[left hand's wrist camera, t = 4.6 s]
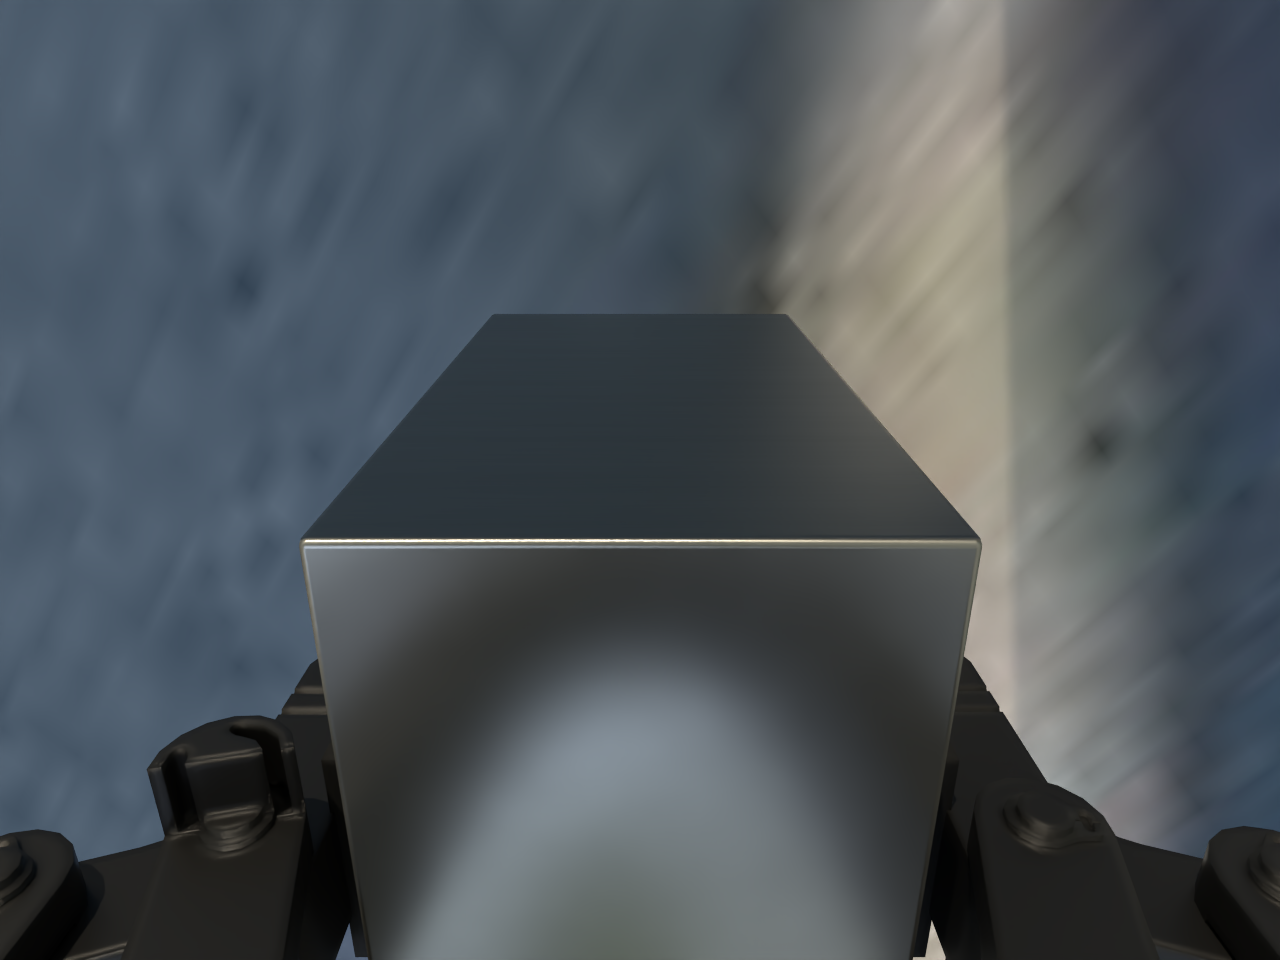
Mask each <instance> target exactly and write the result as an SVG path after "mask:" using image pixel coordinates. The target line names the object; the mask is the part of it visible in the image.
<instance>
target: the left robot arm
mask: <svg viewBox="0 0 1280 960" xmlns="http://www.w3.org/2000/svg"><path fill="white" fill-rule="evenodd" d="M147 772H148V776H149V779H150V783H151V787H152V790H153V794H154V798H155V801H156V805H157V809H158V812H159V816H160V820H161V823H162V827H163V831H164V834H165V837H164V840H163V841H159V842H156V843H153V844H150V845H147V846H143V847H140V848H136V849H132V850H127V851H123V852H119V853H115V854H110V855H106V856H102V857H98V858H93V859H89V860H85V861H81V862H78V859H77V856H76V853H75V850H74V847H73V844H72V843H71V842H70V841H68V840H67V839H66V838H65V837H64V836H63V835H62V834H60V833H56V832H50V831H45V830H39V829H37V830H30V831H22V832H15V833H9V834H6V835H3V836H0V960H335V959H336V957H337V954H338V951H339V949H340V946H341V943H342V941H343V938H344V935H345V933H346V930H347V927H348V925H349V923H350V929H351V935H352V940H353V946H354V952H355V957H368V954H367V948H366V942H365V936H364V930H363V924H362V919H361V913H360V907H359V901H358V895H357V889H356V883H355V877H354V871H353V865H352V859H351V853H350V847H349V841H348V835H347V829H346V823H345V817H344V811H343V805H342V799H341V793H340V787H339V781H338V775H337V769H336V763H335V757H334V751H333V745H332V739H331V733H330V727H329V721H328V715H327V709H326V703H325V697H324V691H323V685H322V679H321V673H320V667H319V662H318V659H317V660H315V661H314V662H313V663H311V664H310V666H309V667H308V669H307V670H306V672H305V674H304V675H303V677H302V678H301V680H300V681H299V683H298V685H297V686H296V688H295V693H294V694H291V696H290V697H289V699H288V700H287V702H286V704H285V705H284V707H283V708H282V714H281V715H278V716H277V718H276V719H271V718H267V717H263V716H234V717H230V718H226V719H222V720H218V721H214V722H209V723H206V724H204V725H202V726H200V727H198V728H195V729H193V730H191V731H189V732H187V733H185V734H182V735H181V736H179V737H178V738H177V739H175V740H174V741H173V742H171V743H170V744H169V745H167V746H166V747H165V748H163V749H162V750H161V751H160V752H159V753H158V754H157V756H156V757H155V759H154V760H153V761H152V763H151V764H150V766H149V767H148V768H147ZM931 921H932V922H933V924H934V927H935V930H936V932H937V935H938V938H939V940H940V943H941V946H942V948H943V951H944V954H945V956H946V959H945V960H1280V832H1277V831H1274V830H1269V829H1262V828H1254V827H1247V826H1242V827H1236V828H1230V829H1224V830H1221V831H1220V832H1219V833H1218V834H1216V835H1215V836H1214V837H1213V838H1212V839H1211V840H1210V841H1209V843H1208V846H1207V849H1206V852H1205V855H1204V858H1203V859H1202V858H1197V857H1193V856H1189V855H1185V854H1180V853H1176V852H1172V851H1167V850H1163V849H1159V848H1155V847H1150V846H1146V845H1142V844H1139V843H1135V842H1132V841H1129V840H1126V839H1122V838H1119V837H1117V836H1115V834H1114V832H1113V831H1112V829H1111V827H1110V826H1109V824H1108V823H1107V821H1106V819H1105V818H1104V816H1103V815H1102V814H1101V813H1099V812H1098V811H1097V810H1096V809H1095V808H1093V807H1092V806H1091V805H1090V804H1089V803H1088V802H1086V801H1085V800H1084V799H1083V798H1081V797H1079V796H1077V795H1075V794H1073V793H1071V792H1069V791H1067V790H1065V789H1064V788H1062V787H1060V786H1057V785H1054V784H1050V783H1047V781H1046V779H1045V778H1044V776H1043V775H1042V773H1041V772H1040V770H1039V768H1038V767H1037V765H1036V764H1035V762H1034V761H1033V759H1032V757H1031V756H1030V754H1029V753H1028V751H1027V750H1026V748H1025V746H1024V745H1023V743H1022V742H1021V740H1020V739H1019V737H1018V735H1017V734H1016V732H1015V731H1014V729H1013V727H1012V726H1011V724H1010V723H1009V721H1008V720H1007V718H1006V716H1005V715H1004V713H1003V712H1000V711H999V705H998V704H997V702H996V701H995V699H994V698H993V696H992V694H991V693H990V691H987V690H986V685H985V683H984V682H983V680H982V679H981V677H980V676H979V674H978V672H977V671H976V669H975V668H974V666H973V665H972V663H971V662H970V661H969V660H968V659H966V658H965V657H963V663H962V669H961V675H960V681H959V687H958V692H957V698H956V704H955V710H954V716H953V722H952V728H951V734H950V740H949V746H948V752H947V758H946V764H945V770H944V776H943V782H942V788H941V794H940V800H939V806H938V811H937V817H936V823H935V829H934V835H933V841H932V847H931V853H930V859H929V865H928V871H927V877H926V883H925V889H924V895H923V901H922V907H921V913H920V919H919V925H918V931H917V936H916V942H915V948H914V954H913V957H925V955H926V949H927V943H928V938H929V932H930V926H931Z"/></svg>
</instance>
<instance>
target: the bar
mask: <svg viewBox="0 0 1280 960" xmlns="http://www.w3.org/2000/svg"><path fill="white" fill-rule="evenodd" d="M299 548H300V554H301V560H302V566H303V572H304V578H305V584H306V590H307V596H308V602H309V608H310V614H311V620H312V626H313V632H314V638H315V644H316V650H317V656H318V662H319V667H320V673H321V679H322V685H323V691H324V697H325V703H326V709H327V715H328V721H329V727H330V733H331V739H332V745H333V751H334V757H335V763H336V769H337V775H338V781H339V787H340V793H341V799H342V805H343V811H344V817H345V823H346V829H347V835H348V841H349V847H350V853H351V859H352V865H353V871H354V877H355V883H356V889H357V895H358V901H359V907H360V913H361V919H362V924H363V930H364V936H365V942H366V948H367V954H368V960H913V954H914V948H915V942H916V936H917V931H918V925H919V919H920V913H921V907H922V901H923V895H924V889H925V883H926V877H927V871H928V865H929V859H930V853H931V847H932V841H933V835H934V829H935V823H936V817H937V811H938V806H939V800H940V794H941V788H942V782H943V776H944V770H945V764H946V758H947V752H948V746H949V740H950V734H951V728H952V722H953V716H954V710H955V704H956V698H957V692H958V687H959V681H960V675H961V669H962V663H963V657H964V651H965V645H966V639H967V633H968V627H969V621H970V615H971V609H972V603H973V597H974V591H975V585H976V579H977V573H978V567H979V562H980V556H981V550H982V543H981V539H980V537H979V536H978V535H977V534H976V533H975V532H974V530H973V529H972V528H971V527H970V526H969V525H968V524H967V522H966V521H965V520H964V519H963V518H962V517H961V515H960V514H959V513H958V512H957V511H956V510H955V508H954V507H953V506H952V505H951V504H950V503H949V501H948V500H947V499H946V498H945V497H944V496H943V494H942V493H941V492H940V491H939V490H938V489H937V488H936V486H935V485H934V484H933V483H932V482H931V481H930V479H929V478H928V477H927V476H926V475H925V474H924V472H923V471H922V470H921V469H920V468H919V467H918V465H917V464H916V463H915V462H914V461H913V460H912V458H911V457H910V456H909V455H908V454H907V453H906V452H905V450H904V449H903V448H902V447H901V446H900V445H899V443H898V442H897V441H896V440H895V439H894V438H893V436H892V435H891V434H890V433H889V432H888V431H887V429H886V428H885V427H884V426H883V425H882V424H881V422H880V421H879V420H878V419H877V418H876V417H875V416H874V414H873V413H872V412H871V411H870V410H869V409H868V407H867V406H866V405H865V404H864V403H863V402H862V400H861V399H860V398H859V397H858V396H857V395H856V393H855V392H854V391H853V390H852V389H851V388H850V386H849V385H848V384H847V383H846V382H845V381H844V380H843V378H842V377H841V376H840V375H839V374H838V373H837V371H836V370H835V369H834V368H833V367H832V366H831V364H830V363H829V362H828V361H827V360H826V359H825V357H824V356H823V355H822V354H821V353H820V352H819V350H818V349H817V348H816V347H815V346H814V345H813V344H812V342H811V341H810V340H809V339H808V338H807V337H806V335H805V334H804V333H803V332H802V331H801V330H800V328H799V327H798V326H797V325H796V324H795V323H794V321H793V320H792V319H791V318H790V317H789V316H788V315H786V314H494V315H492V316H491V317H490V318H489V320H488V321H487V322H486V323H485V324H484V325H483V327H482V328H481V329H480V330H479V331H478V332H477V334H476V335H475V336H474V337H473V338H472V339H471V341H470V342H469V343H468V344H467V345H466V346H465V348H464V349H463V350H462V351H461V352H460V353H459V355H458V356H457V357H456V358H455V359H454V360H453V362H452V363H451V364H450V365H449V366H448V367H447V369H446V370H445V371H444V372H443V373H442V374H441V376H440V377H439V378H438V379H437V380H436V381H435V383H434V384H433V385H432V386H431V387H430V388H429V390H428V391H427V392H426V393H425V394H424V395H423V397H422V398H421V399H420V400H419V401H418V402H417V404H416V405H415V406H414V407H413V408H412V409H411V411H410V412H409V413H408V414H407V415H406V416H405V418H404V419H403V420H402V421H401V422H400V423H399V425H398V426H397V427H396V428H395V429H394V430H393V432H392V433H391V434H390V435H389V436H388V437H387V439H386V440H385V441H384V442H383V443H382V444H381V446H380V447H379V448H378V449H377V450H376V451H375V453H374V454H373V455H372V456H371V457H370V458H369V460H368V461H367V462H366V463H365V464H364V465H363V467H362V468H361V469H360V470H359V471H358V472H357V474H356V475H355V476H354V477H353V478H352V479H351V481H350V482H349V483H348V484H347V485H346V486H345V488H344V489H343V490H342V491H341V492H340V493H339V495H338V496H337V497H336V498H335V499H334V500H333V502H332V503H331V504H330V505H329V506H328V507H327V509H326V510H325V511H324V512H323V513H322V514H321V516H320V517H319V518H318V519H317V520H316V521H315V523H314V524H313V525H312V526H311V527H310V528H309V530H308V531H307V532H306V533H305V534H304V535H303V537H302V538H301V540H300V544H299Z"/></svg>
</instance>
